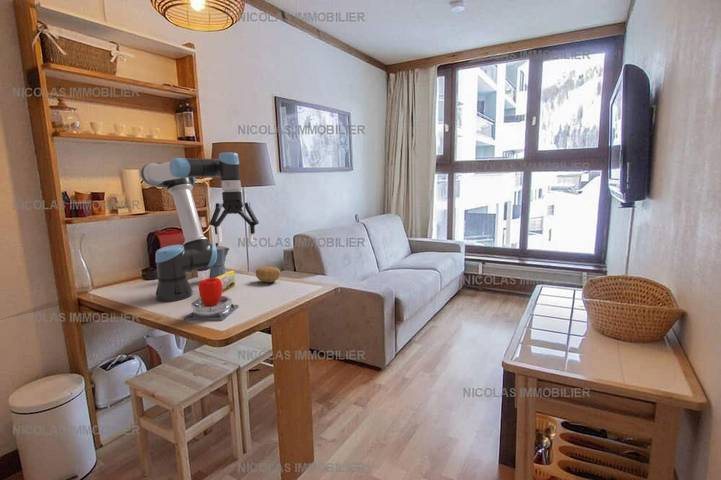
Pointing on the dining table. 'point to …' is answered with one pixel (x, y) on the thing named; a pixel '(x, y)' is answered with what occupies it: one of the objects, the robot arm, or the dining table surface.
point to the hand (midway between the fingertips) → (235, 241)
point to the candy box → (227, 281)
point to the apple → (210, 291)
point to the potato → (267, 274)
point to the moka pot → (219, 262)
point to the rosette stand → (212, 310)
